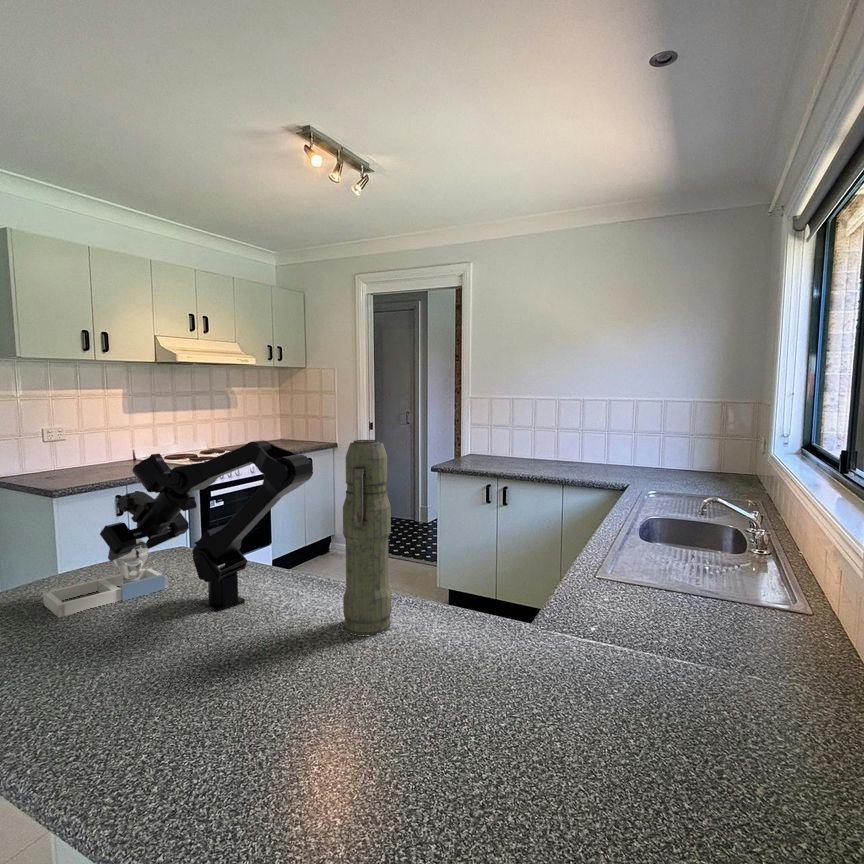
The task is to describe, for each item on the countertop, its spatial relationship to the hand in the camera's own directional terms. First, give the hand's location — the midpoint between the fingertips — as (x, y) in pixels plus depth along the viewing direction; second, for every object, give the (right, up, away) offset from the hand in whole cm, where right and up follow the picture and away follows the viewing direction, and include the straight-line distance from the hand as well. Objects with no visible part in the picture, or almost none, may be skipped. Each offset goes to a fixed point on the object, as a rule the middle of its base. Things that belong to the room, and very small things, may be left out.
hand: (128, 553), depth 115 cm
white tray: (-2, -8, -4) cm, 9 cm away
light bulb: (+1, -8, -1) cm, 8 cm away
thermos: (+56, -10, -18) cm, 60 cm away
